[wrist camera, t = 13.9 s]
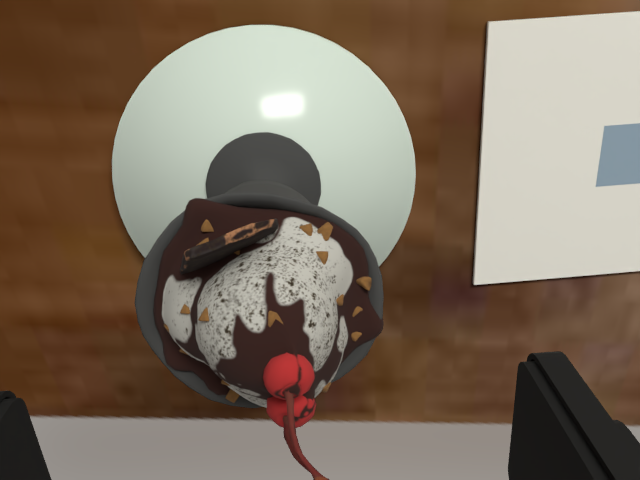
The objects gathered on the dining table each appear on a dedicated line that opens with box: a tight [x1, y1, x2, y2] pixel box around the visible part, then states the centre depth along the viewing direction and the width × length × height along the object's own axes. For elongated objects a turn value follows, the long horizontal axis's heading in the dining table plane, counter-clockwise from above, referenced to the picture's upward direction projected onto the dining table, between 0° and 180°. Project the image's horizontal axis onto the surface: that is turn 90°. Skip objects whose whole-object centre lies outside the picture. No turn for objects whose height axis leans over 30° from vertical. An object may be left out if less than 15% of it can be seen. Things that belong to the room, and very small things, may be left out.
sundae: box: [135, 132, 383, 480], centre depth 18 cm, size 7×7×15 cm
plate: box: [112, 25, 416, 266], centre depth 25 cm, size 13×13×1 cm
